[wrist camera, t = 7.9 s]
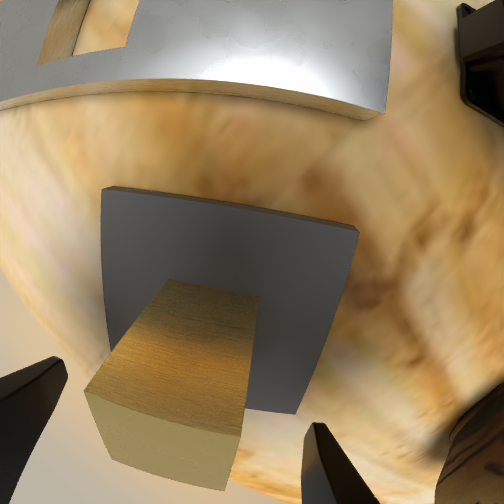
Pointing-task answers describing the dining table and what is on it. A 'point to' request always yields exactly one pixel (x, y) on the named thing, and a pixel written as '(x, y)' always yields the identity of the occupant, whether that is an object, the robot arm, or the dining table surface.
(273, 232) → the rubber mat
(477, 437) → the ceramic jug
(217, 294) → the brass block
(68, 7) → the metal plate
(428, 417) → the dining table surface
